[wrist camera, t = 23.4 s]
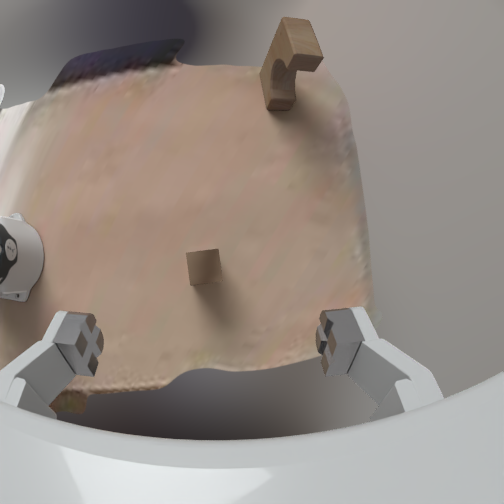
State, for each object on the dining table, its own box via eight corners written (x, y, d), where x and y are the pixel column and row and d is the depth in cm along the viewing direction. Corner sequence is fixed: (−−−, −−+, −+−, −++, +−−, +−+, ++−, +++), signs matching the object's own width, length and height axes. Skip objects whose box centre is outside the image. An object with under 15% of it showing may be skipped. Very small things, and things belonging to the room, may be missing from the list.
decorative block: (290, 111, 59) (325, 58, 39) (265, 110, 58) (293, 54, 38) (282, 74, 59) (310, 19, 40) (259, 73, 58) (282, 15, 39)
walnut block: (185, 252, 43) (187, 255, 53) (190, 285, 43) (191, 282, 53) (218, 248, 44) (214, 252, 54) (222, 281, 44) (217, 278, 54)
